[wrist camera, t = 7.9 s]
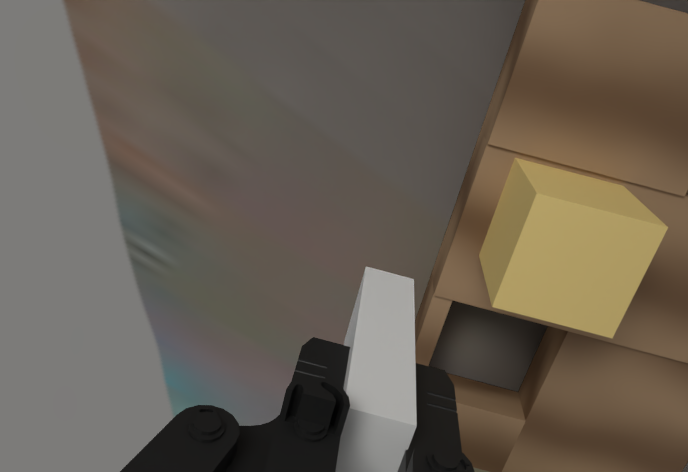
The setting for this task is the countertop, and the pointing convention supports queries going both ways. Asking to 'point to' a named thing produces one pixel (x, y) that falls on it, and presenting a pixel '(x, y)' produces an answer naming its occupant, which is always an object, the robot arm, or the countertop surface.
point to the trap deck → (604, 164)
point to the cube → (567, 248)
